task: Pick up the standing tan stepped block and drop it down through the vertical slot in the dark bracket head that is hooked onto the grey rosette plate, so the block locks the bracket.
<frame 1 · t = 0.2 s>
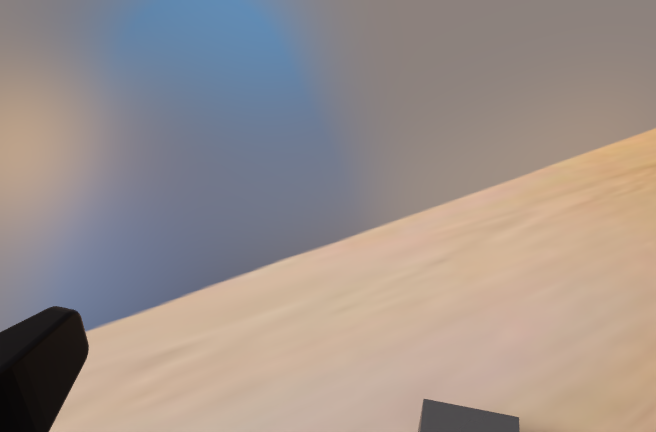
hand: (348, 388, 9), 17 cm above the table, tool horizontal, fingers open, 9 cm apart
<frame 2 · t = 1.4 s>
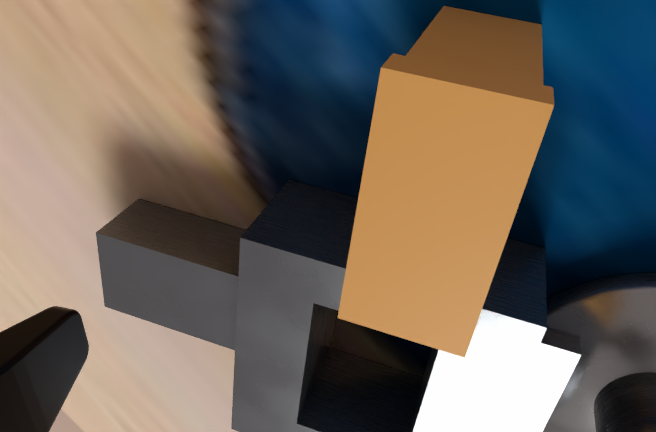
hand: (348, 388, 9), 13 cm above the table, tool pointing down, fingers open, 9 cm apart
ring lock bracket: (388, 310, 24), on the table
tan stepped block: (471, 92, 19), on the table
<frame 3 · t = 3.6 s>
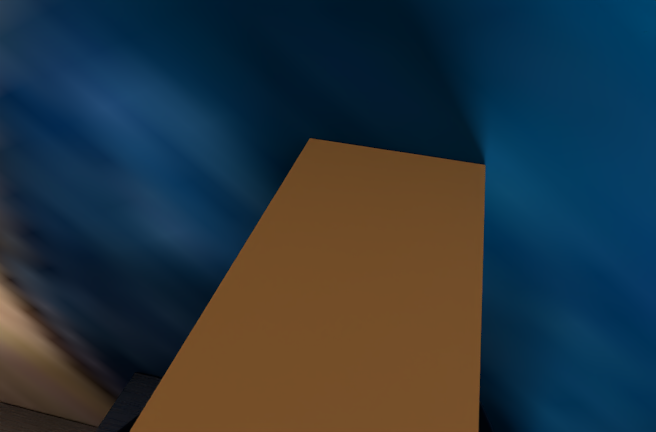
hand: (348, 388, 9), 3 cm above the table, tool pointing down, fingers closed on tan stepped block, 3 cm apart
tan stepped block: (380, 265, 11), on the table, touching gripper
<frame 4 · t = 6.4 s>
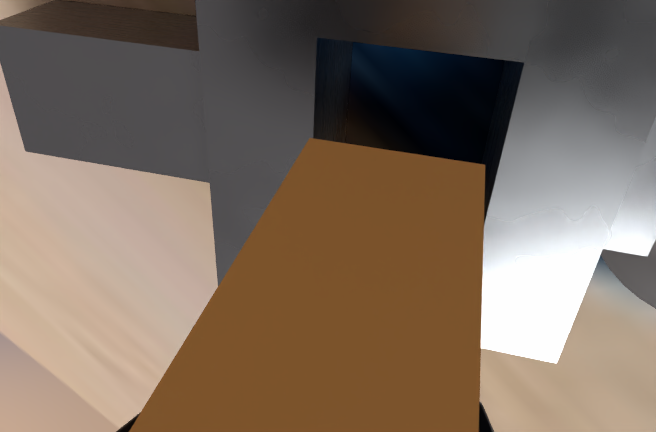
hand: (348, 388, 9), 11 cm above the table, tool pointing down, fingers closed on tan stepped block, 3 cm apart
ring lock bracket: (418, 108, 17), on the table
tan stepped block: (380, 265, 11), point 8 cm above the table, touching gripper
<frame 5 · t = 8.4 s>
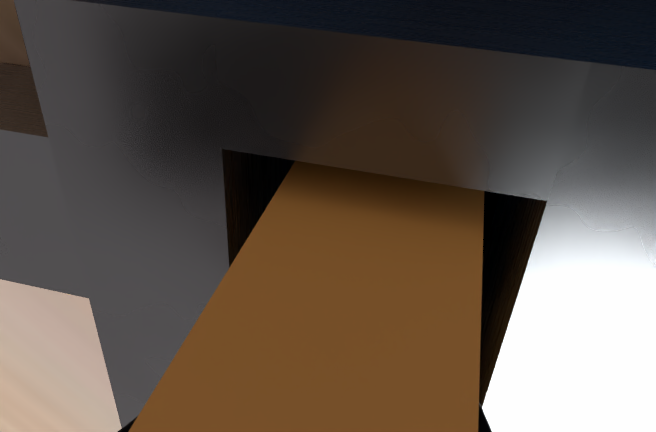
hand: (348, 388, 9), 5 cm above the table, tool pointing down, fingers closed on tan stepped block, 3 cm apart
ring lock bracket: (395, 201, 13), on the table
tan stepped block: (380, 265, 11), point 2 cm above the table, touching gripper
when the fingers open (5 cm above the table, at t = 8.4 s): tan stepped block drops 2 cm, resting in ring lock bracket.
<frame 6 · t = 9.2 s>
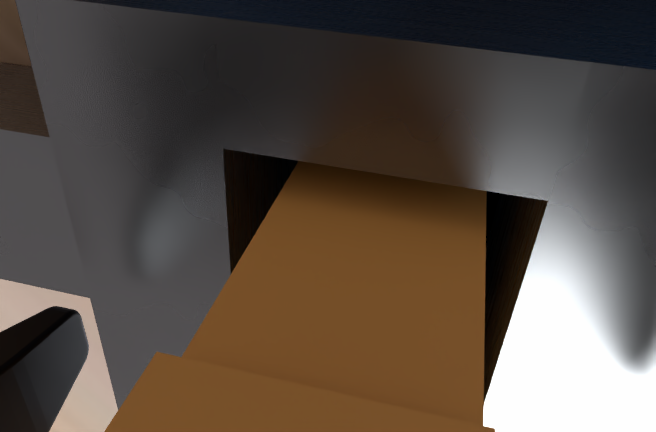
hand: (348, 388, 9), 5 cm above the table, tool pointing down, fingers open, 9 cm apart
ring lock bracket: (396, 201, 13), on the table
tan stepped block: (398, 200, 13), resting in ring lock bracket
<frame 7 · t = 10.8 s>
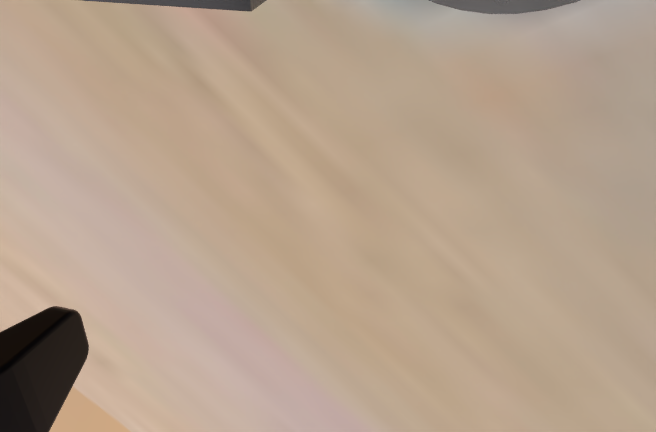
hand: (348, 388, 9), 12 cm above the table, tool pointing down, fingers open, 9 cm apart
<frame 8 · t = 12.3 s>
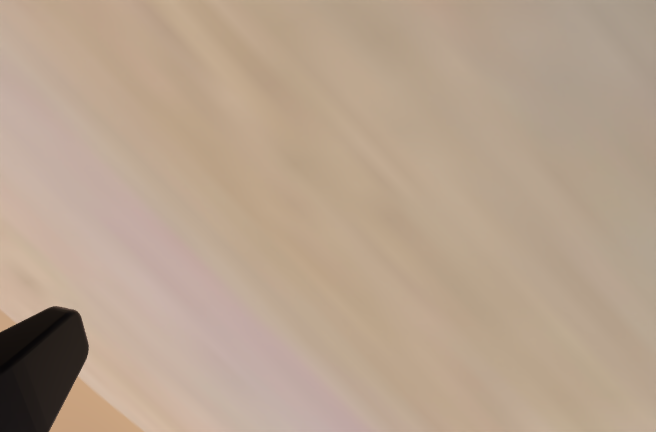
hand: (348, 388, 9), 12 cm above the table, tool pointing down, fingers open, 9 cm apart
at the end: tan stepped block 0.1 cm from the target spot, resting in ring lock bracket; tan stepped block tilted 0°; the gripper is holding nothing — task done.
